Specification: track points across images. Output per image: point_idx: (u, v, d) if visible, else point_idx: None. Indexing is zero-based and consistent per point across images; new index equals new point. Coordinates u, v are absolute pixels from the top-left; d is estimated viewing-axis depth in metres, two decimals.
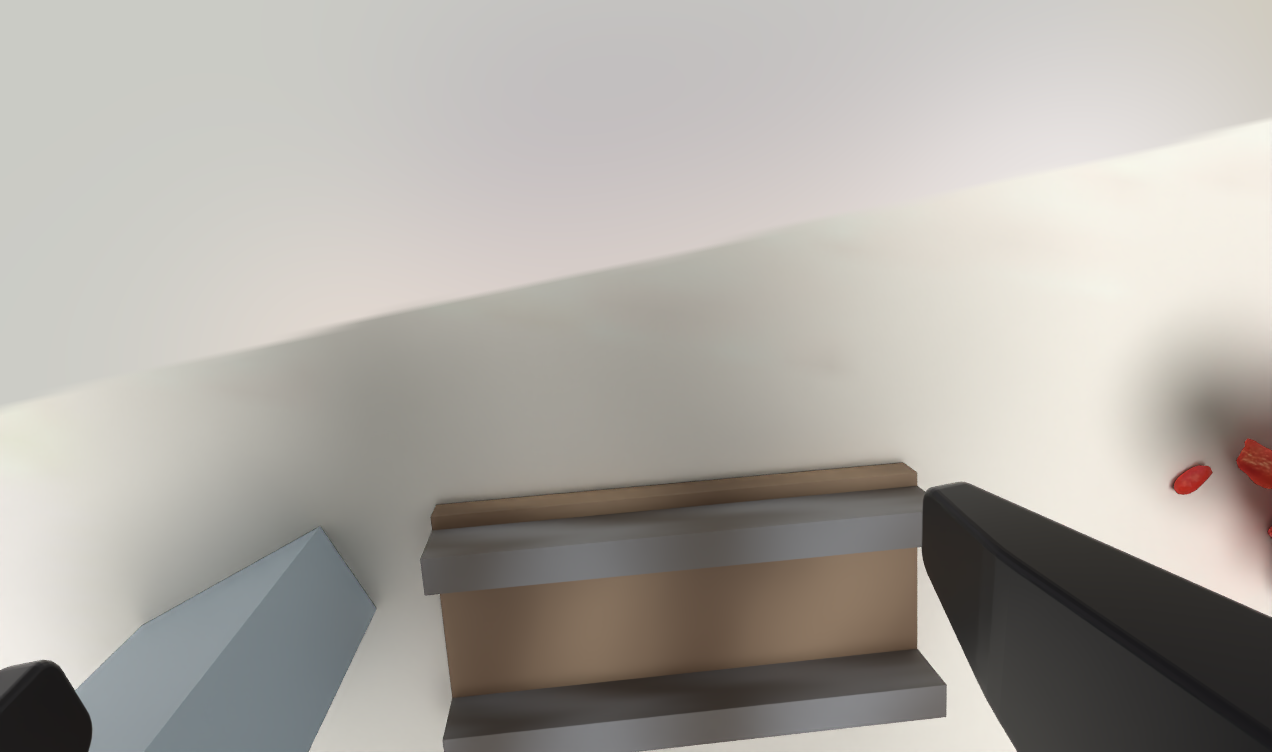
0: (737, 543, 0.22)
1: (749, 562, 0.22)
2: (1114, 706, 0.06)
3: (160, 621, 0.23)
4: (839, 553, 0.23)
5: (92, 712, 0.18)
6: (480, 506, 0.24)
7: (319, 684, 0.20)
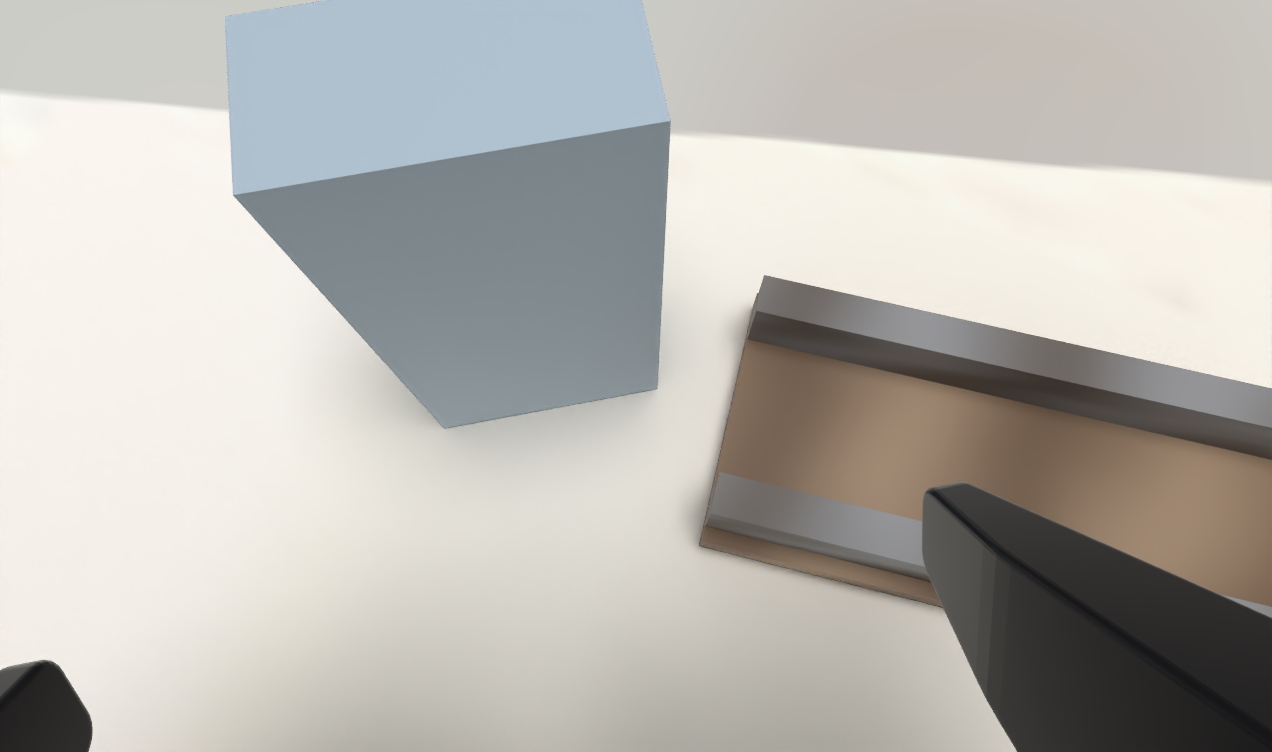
0: (1094, 364, 0.20)
1: (1103, 391, 0.20)
2: (1114, 706, 0.06)
3: None
4: (1209, 415, 0.20)
5: None
6: None
7: None
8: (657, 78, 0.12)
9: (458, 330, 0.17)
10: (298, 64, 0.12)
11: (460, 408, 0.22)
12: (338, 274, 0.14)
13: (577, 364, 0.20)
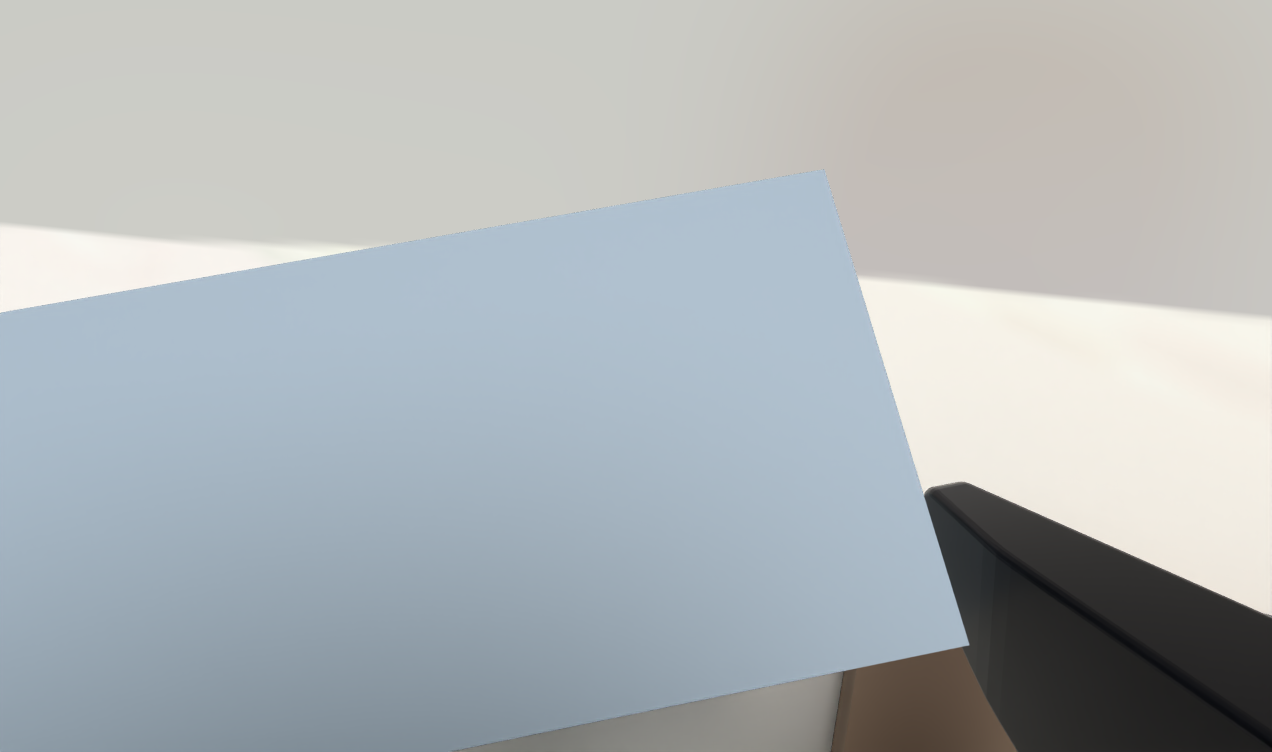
0: None
1: None
2: (1114, 706, 0.06)
3: None
4: None
5: None
6: None
7: None
8: (920, 511, 0.05)
9: None
10: (35, 468, 0.05)
11: None
12: None
13: None
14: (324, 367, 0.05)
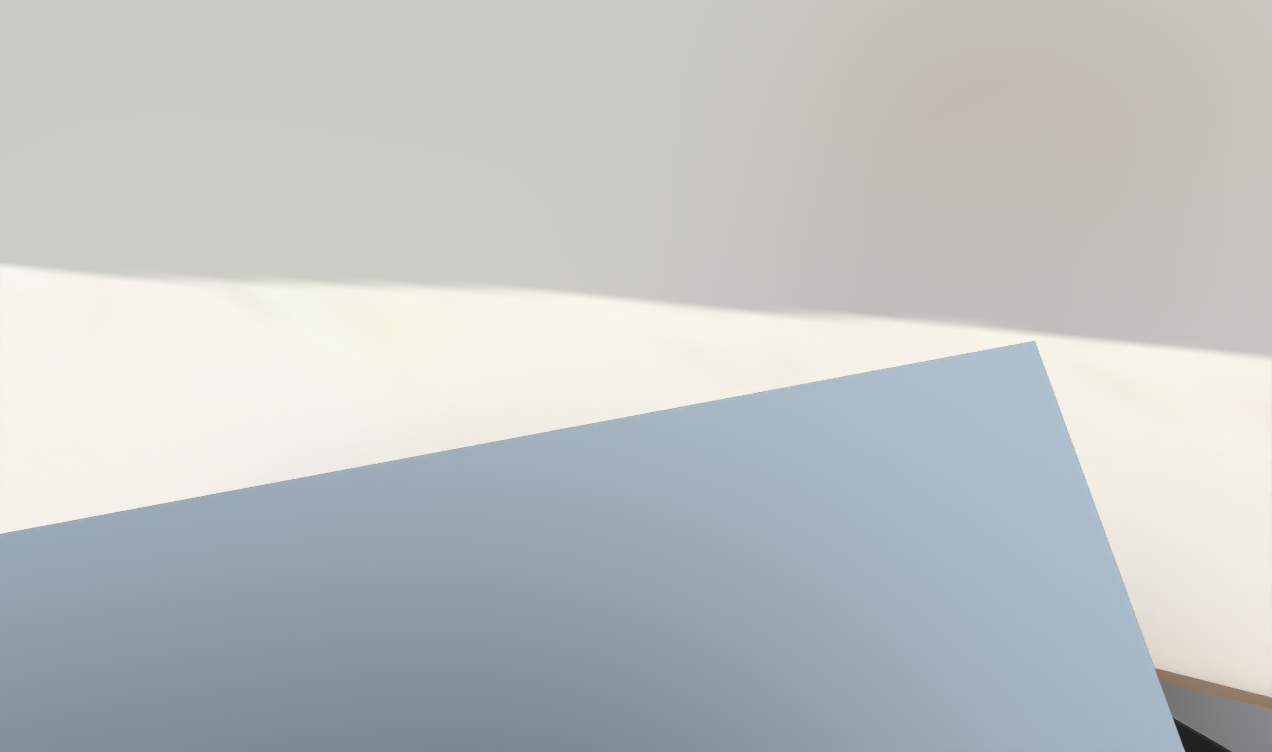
0: None
1: None
2: None
3: None
4: None
5: None
6: None
7: None
8: None
9: None
10: None
11: None
12: None
13: None
14: (180, 716, 0.03)
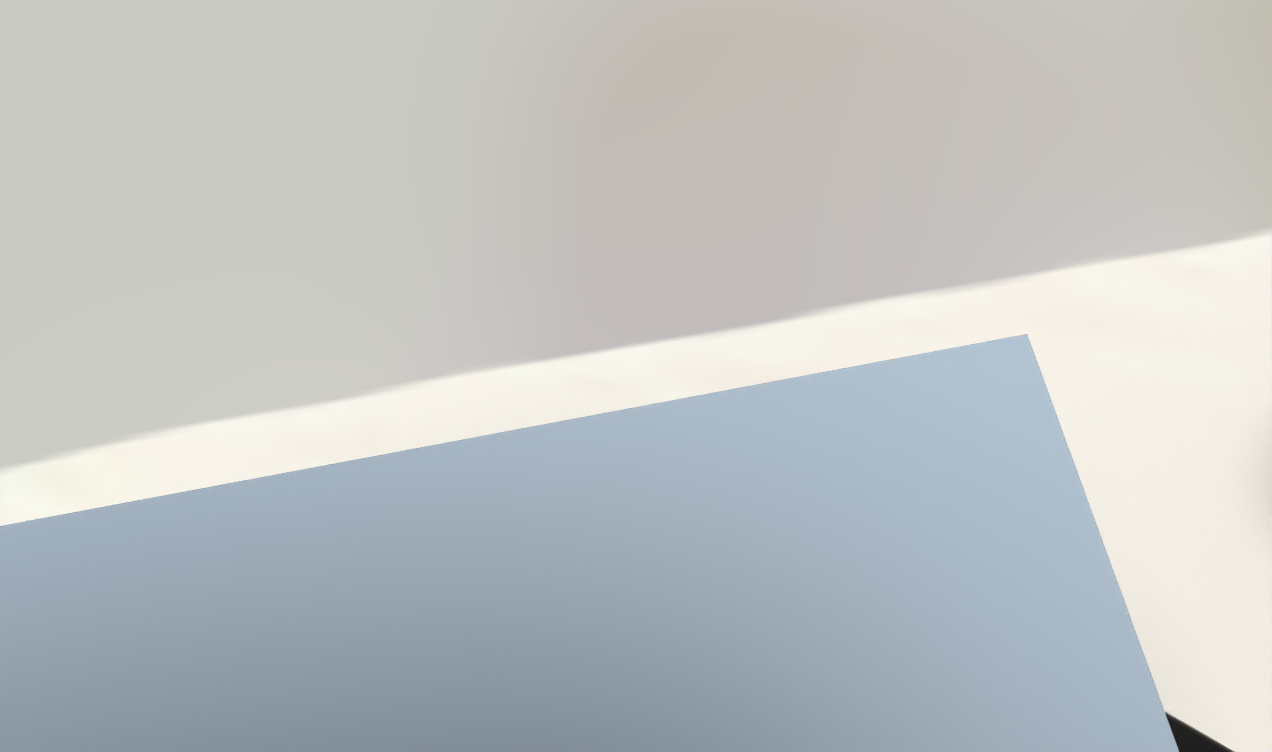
0: None
1: None
2: None
3: None
4: None
5: None
6: None
7: None
8: None
9: None
10: None
11: None
12: None
13: None
14: (175, 707, 0.03)
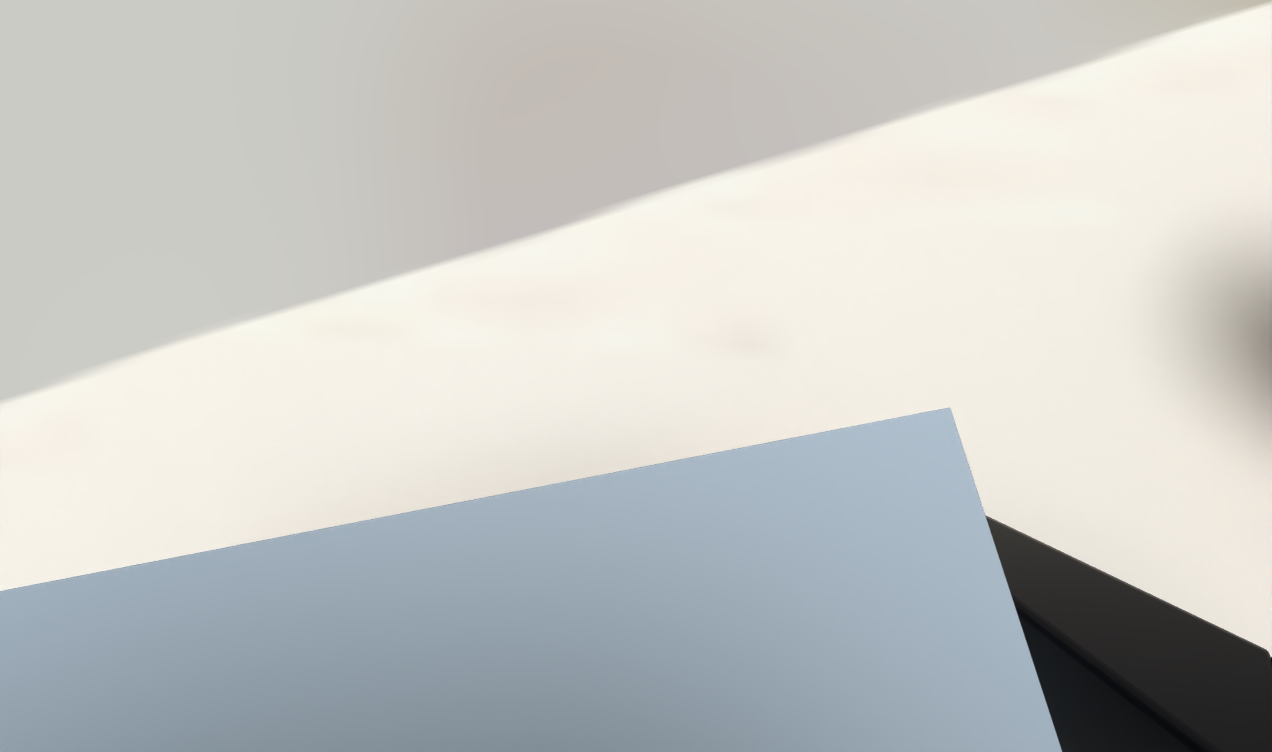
0: None
1: None
2: (1065, 716, 0.06)
3: None
4: None
5: None
6: None
7: None
8: None
9: None
10: None
11: None
12: None
13: None
14: (292, 702, 0.04)
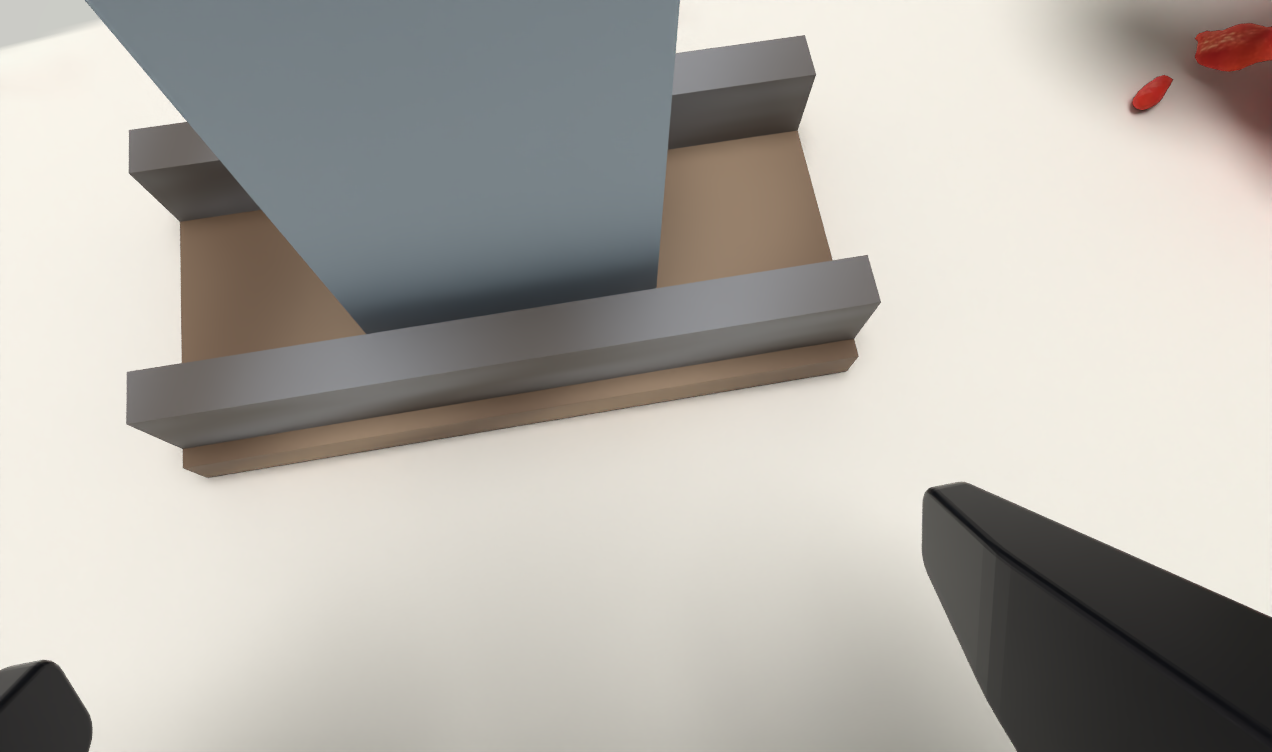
0: None
1: None
2: (1114, 706, 0.06)
3: None
4: (677, 97, 0.17)
5: None
6: None
7: None
8: None
9: (369, 159, 0.11)
10: None
11: (392, 312, 0.16)
12: (143, 4, 0.08)
13: (548, 245, 0.15)
14: None
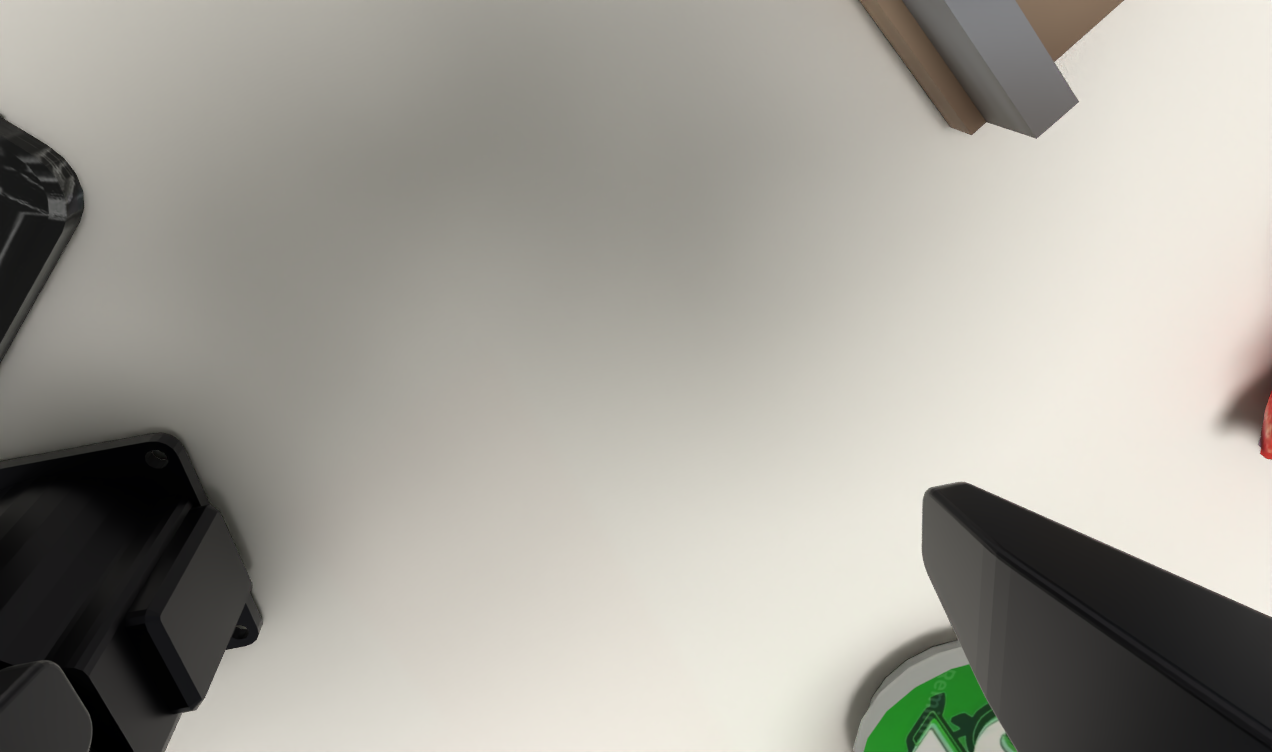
0: None
1: None
2: (1114, 706, 0.06)
3: None
4: None
5: None
6: None
7: None
8: None
9: None
10: None
11: None
12: None
13: None
14: None
